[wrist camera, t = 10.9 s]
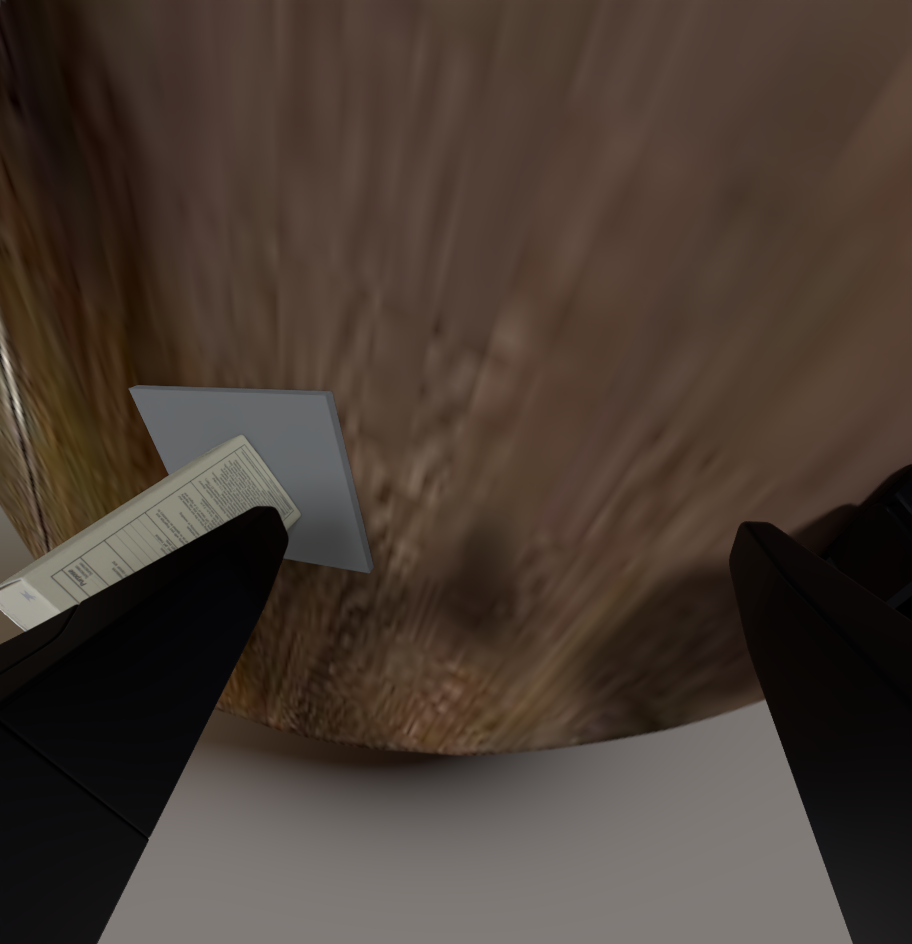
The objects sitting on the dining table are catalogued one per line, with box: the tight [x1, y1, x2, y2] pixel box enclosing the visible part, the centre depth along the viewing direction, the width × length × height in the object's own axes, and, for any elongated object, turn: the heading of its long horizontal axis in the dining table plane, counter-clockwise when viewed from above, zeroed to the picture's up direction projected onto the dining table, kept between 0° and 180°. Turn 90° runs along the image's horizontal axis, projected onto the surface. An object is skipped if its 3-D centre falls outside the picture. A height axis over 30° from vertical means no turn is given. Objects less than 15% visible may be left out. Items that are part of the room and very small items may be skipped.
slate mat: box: [129, 385, 374, 573], centre depth 29 cm, size 14×12×1 cm
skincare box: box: [0, 435, 301, 631], centre depth 23 cm, size 6×4×12 cm
